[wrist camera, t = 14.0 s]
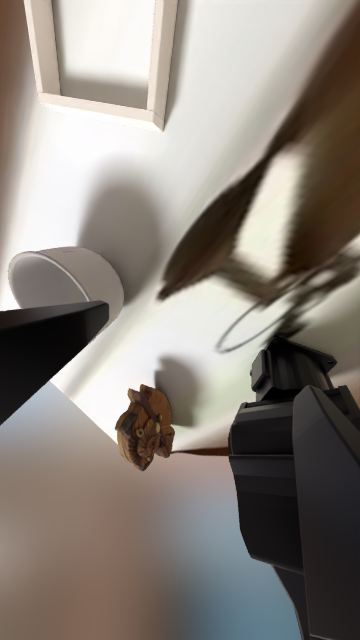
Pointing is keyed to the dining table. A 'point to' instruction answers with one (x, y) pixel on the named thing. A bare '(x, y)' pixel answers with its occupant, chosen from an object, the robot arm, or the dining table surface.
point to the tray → (50, 96)
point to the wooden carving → (145, 427)
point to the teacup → (65, 279)
